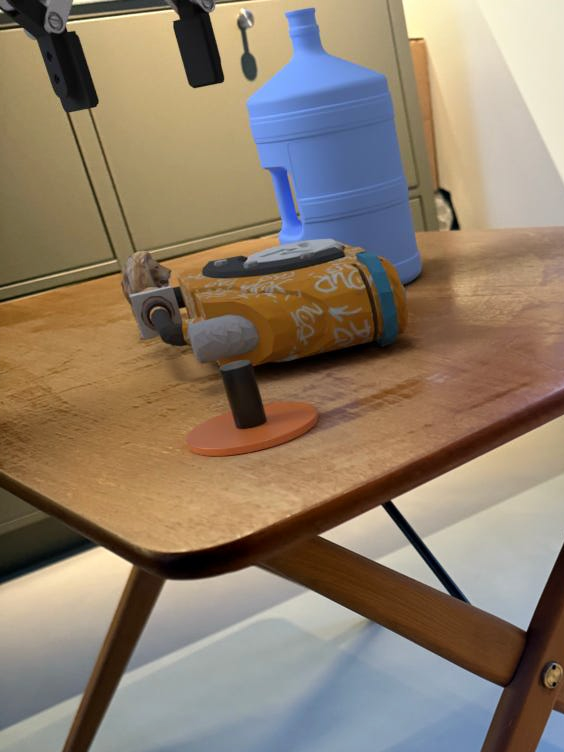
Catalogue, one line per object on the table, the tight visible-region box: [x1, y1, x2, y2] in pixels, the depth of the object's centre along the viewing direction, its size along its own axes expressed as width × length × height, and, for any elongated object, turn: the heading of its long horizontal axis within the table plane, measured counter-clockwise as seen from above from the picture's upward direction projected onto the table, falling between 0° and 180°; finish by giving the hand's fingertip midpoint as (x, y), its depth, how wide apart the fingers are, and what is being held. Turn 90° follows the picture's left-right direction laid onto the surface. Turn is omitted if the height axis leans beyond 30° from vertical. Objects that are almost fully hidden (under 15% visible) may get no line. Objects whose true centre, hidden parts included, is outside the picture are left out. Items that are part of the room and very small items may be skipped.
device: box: [130, 239, 409, 368], centre depth 100 cm, size 23×8×30 cm
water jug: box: [246, 7, 423, 286], centre depth 115 cm, size 16×16×28 cm
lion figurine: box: [120, 250, 172, 340], centre depth 117 cm, size 15×5×9 cm, turn 24°
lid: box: [185, 360, 319, 457], centre depth 78 cm, size 10×10×5 cm
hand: (147, 97), depth 67 cm, fingers open, 9 cm apart
